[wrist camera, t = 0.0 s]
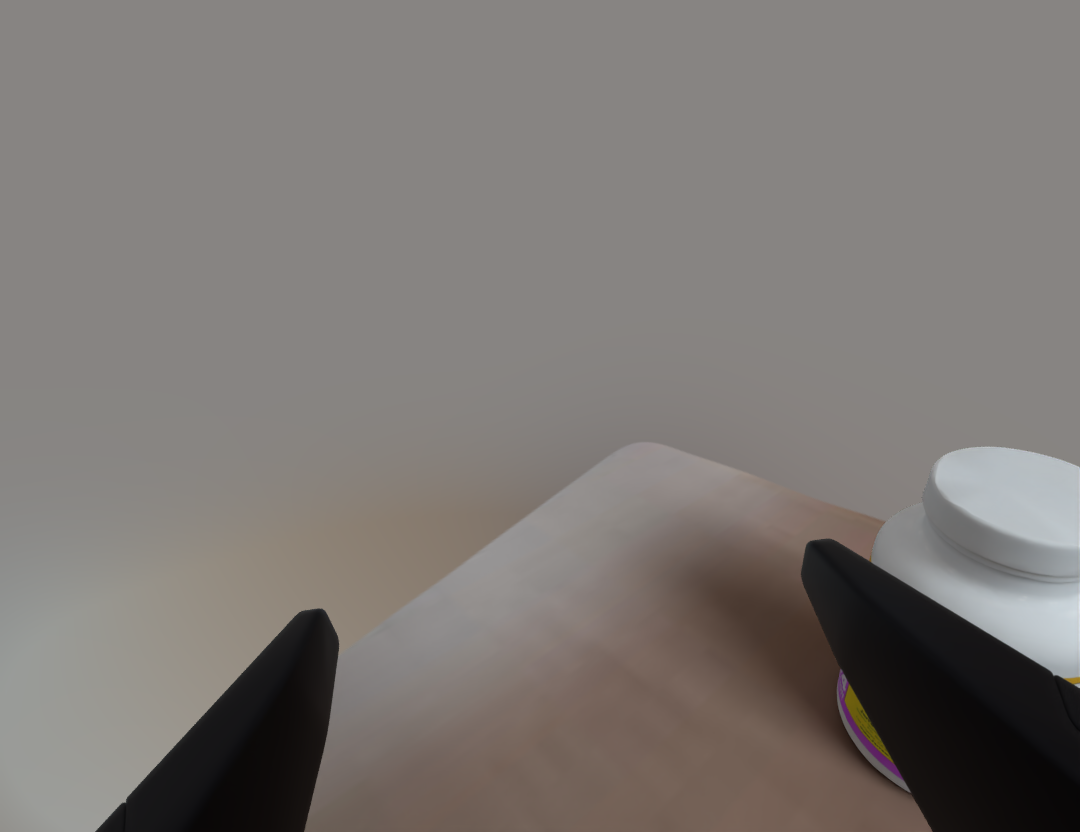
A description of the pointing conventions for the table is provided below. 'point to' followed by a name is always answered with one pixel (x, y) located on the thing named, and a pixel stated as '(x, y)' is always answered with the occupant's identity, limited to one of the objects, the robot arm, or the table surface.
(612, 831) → the table surface
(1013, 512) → the supplement bottle
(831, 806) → the table surface
